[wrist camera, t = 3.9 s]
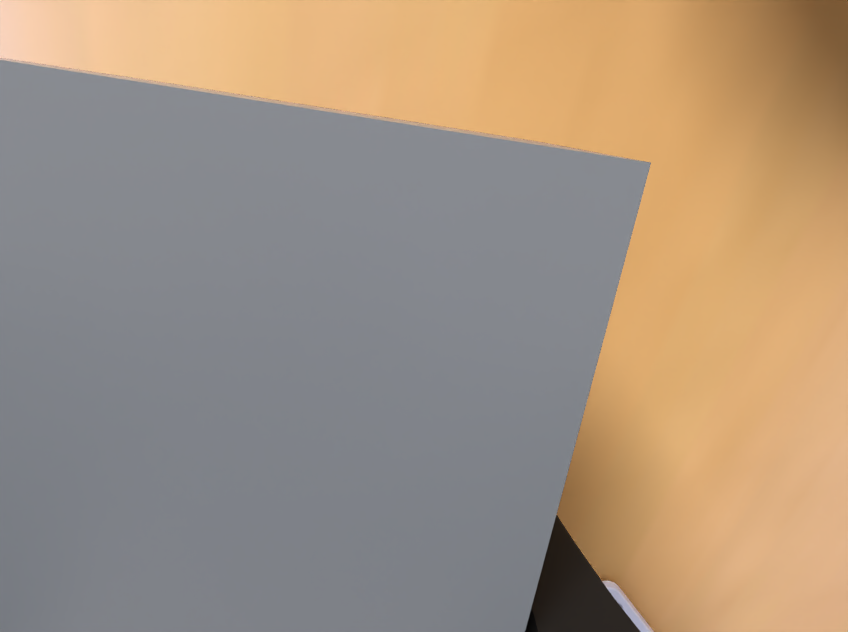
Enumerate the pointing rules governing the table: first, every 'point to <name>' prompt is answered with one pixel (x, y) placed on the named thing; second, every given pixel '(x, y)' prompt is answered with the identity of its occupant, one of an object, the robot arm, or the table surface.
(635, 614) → the robot arm
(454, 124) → the table surface
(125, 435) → the grey block
